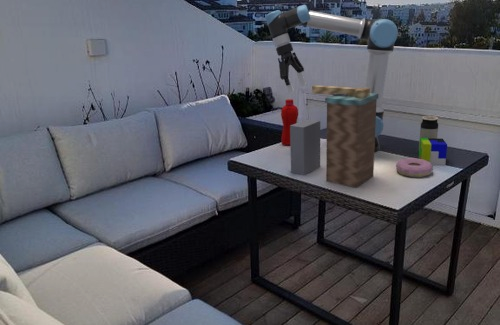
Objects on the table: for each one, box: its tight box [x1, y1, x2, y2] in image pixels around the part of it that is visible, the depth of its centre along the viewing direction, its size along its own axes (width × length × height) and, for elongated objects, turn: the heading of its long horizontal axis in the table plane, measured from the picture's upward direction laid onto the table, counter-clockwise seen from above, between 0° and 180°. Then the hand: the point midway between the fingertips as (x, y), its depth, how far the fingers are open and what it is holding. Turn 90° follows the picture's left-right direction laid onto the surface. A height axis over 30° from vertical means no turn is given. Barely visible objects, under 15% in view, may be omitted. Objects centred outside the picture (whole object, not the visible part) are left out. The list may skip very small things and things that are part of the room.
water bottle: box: [280, 98, 299, 147], centre depth 242 cm, size 9×11×25 cm
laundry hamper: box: [324, 93, 379, 189], centre depth 184 cm, size 15×17×37 cm
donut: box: [395, 157, 434, 178], centre depth 193 cm, size 16×15×5 cm
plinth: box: [290, 118, 321, 176], centre depth 200 cm, size 7×14×22 cm, turn 140°
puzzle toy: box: [418, 137, 448, 166], centre depth 204 cm, size 10×10×10 cm
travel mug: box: [418, 115, 439, 148], centre depth 215 cm, size 8×8×18 cm
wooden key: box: [311, 84, 370, 98], centre depth 182 cm, size 24×7×3 cm, turn 50°
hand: (297, 88), depth 208 cm, fingers open, 13 cm apart
